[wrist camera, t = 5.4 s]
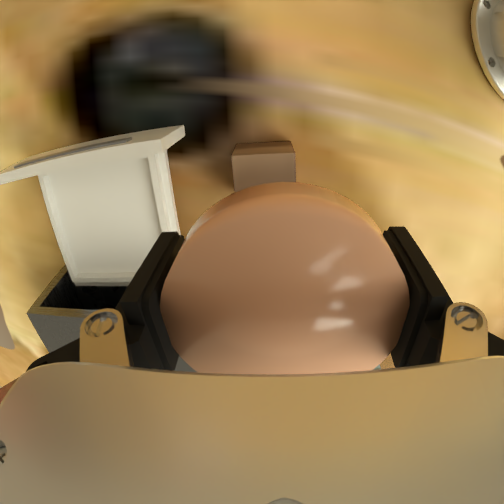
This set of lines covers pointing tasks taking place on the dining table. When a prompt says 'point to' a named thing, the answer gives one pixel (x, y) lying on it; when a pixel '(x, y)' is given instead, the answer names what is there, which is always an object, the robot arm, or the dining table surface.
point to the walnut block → (263, 164)
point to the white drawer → (106, 201)
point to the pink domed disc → (284, 285)
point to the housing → (73, 311)
